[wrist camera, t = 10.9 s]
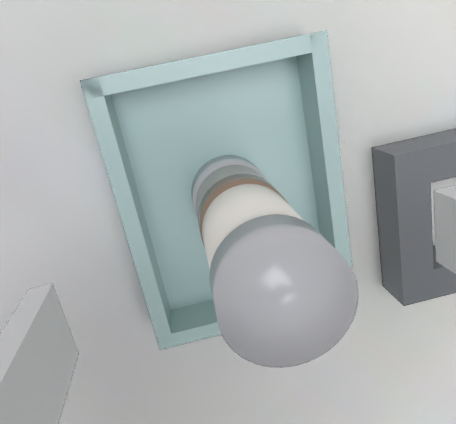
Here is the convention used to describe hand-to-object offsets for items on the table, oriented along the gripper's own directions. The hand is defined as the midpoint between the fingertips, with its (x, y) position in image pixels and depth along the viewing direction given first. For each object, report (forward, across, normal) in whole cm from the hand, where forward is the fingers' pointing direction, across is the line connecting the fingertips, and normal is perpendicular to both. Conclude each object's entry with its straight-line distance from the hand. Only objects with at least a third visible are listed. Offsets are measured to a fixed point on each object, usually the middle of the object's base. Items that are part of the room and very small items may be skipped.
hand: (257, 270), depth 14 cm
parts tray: (+10, 0, 0) cm, 10 cm away
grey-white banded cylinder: (+9, 0, 0) cm, 9 cm away
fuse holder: (+10, +14, -4) cm, 17 cm away
